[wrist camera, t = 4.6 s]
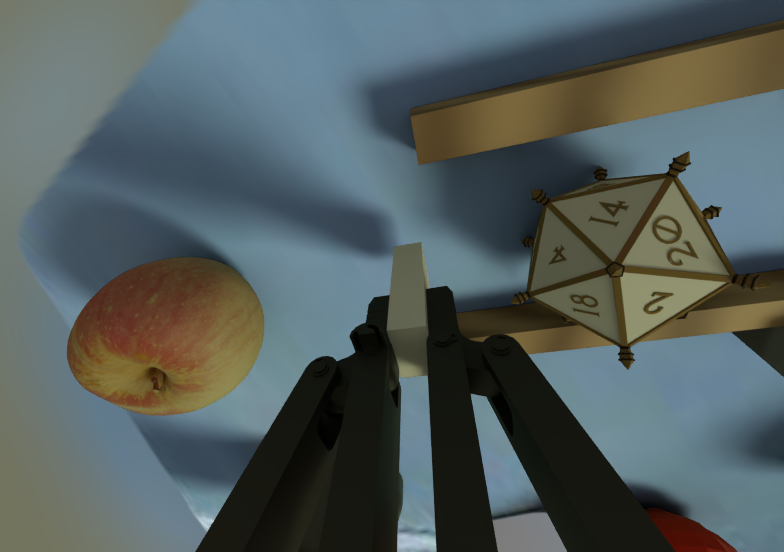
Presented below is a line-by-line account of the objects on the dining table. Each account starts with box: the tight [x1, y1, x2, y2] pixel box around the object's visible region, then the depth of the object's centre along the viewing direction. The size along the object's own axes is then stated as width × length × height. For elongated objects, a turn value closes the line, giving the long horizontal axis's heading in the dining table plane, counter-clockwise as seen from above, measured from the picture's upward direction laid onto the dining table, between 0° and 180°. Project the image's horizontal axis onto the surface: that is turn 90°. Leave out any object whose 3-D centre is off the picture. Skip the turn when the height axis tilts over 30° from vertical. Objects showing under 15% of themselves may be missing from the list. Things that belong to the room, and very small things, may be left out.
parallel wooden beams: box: [411, 20, 784, 377], centre depth 16 cm, size 26×18×4 cm
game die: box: [511, 151, 771, 369], centre depth 15 cm, size 9×8×10 cm
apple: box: [67, 257, 264, 415], centre depth 19 cm, size 9×9×8 cm
